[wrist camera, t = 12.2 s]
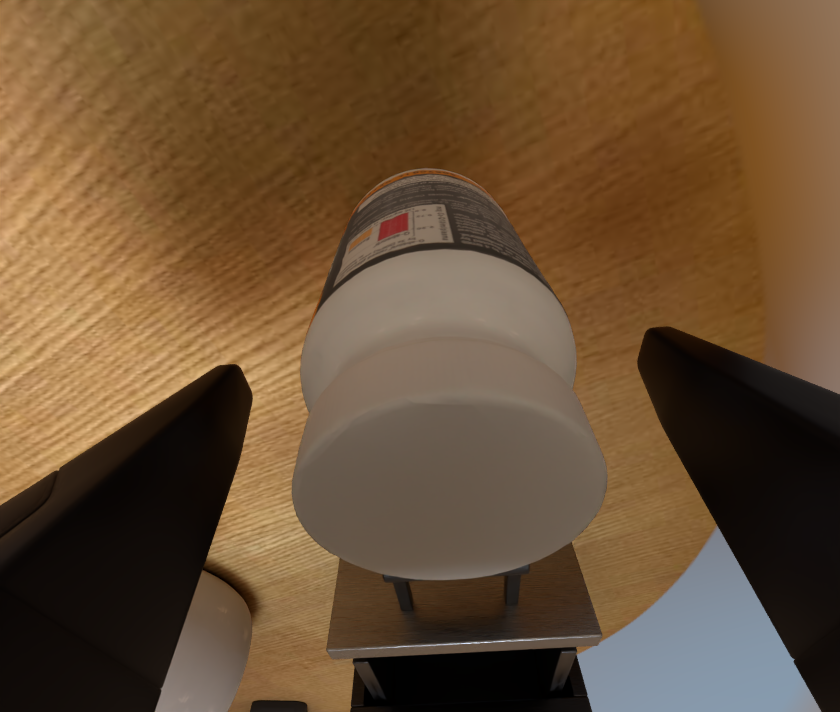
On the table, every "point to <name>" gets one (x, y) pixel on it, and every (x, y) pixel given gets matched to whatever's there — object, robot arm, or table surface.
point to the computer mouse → (278, 706)
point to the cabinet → (569, 708)
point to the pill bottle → (441, 393)
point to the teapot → (209, 651)
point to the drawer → (464, 632)
